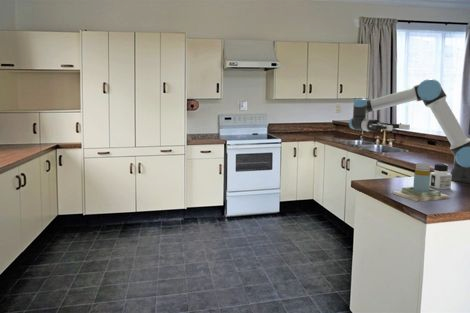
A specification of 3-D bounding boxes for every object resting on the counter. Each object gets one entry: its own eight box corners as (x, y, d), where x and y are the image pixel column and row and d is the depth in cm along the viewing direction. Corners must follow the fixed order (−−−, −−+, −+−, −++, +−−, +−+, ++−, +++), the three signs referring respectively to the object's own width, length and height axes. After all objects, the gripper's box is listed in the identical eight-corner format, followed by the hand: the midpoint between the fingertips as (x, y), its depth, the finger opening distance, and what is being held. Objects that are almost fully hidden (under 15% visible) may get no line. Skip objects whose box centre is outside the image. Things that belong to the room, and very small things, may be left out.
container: (439, 189, 201) (441, 165, 199) (428, 186, 209) (430, 163, 206) (450, 188, 203) (453, 164, 201) (439, 185, 211) (441, 162, 209)
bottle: (423, 191, 191) (426, 162, 189) (431, 195, 184) (434, 165, 182) (410, 191, 191) (412, 162, 188) (417, 195, 184) (420, 165, 182)
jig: (424, 190, 198) (424, 184, 198) (449, 198, 183) (450, 192, 182) (392, 193, 192) (393, 187, 192) (416, 201, 177) (416, 195, 177)
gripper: (385, 130, 233) (415, 133, 214) (355, 132, 222) (384, 135, 203) (386, 118, 232) (416, 120, 213) (356, 119, 220) (385, 121, 202)
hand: (400, 127), depth 208 cm, fingers open, 13 cm apart
